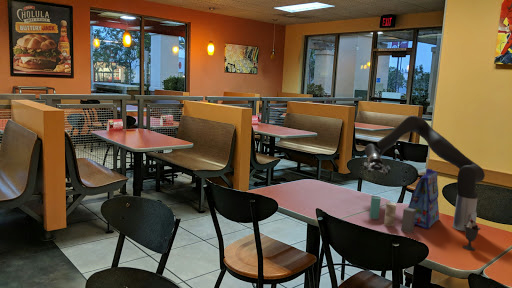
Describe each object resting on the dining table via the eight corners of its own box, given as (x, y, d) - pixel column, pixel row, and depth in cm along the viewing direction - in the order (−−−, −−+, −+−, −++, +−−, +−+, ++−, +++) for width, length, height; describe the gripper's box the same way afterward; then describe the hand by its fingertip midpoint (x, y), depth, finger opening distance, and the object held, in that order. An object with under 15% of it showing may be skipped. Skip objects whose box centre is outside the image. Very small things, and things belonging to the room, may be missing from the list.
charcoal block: (413, 230, 202) (416, 209, 200) (410, 233, 198) (412, 211, 197) (404, 228, 205) (406, 207, 203) (400, 230, 201) (403, 209, 199)
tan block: (393, 223, 210) (395, 203, 209) (393, 226, 206) (396, 205, 204) (384, 222, 212) (386, 201, 210) (384, 225, 207) (386, 204, 205)
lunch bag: (429, 230, 205) (436, 174, 200) (401, 222, 213) (408, 168, 208) (439, 219, 222) (447, 167, 217) (414, 213, 230) (420, 163, 225)
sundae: (462, 244, 189) (467, 212, 186) (478, 248, 185) (483, 216, 182) (458, 248, 184) (463, 216, 181) (475, 252, 179) (480, 220, 177)
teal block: (378, 216, 220) (380, 196, 219) (378, 219, 216) (380, 199, 214) (369, 215, 221) (371, 195, 220) (369, 217, 217) (371, 197, 215)
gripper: (364, 153, 237) (365, 164, 222) (389, 157, 235) (392, 168, 220) (361, 165, 240) (363, 177, 224) (386, 169, 238) (390, 181, 223)
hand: (378, 172), depth 222 cm, fingers open, 8 cm apart
